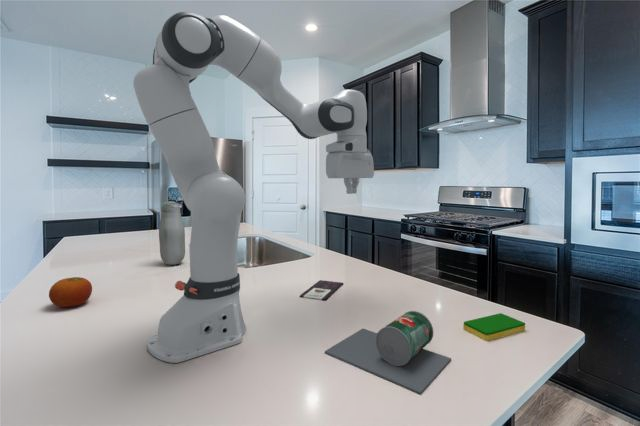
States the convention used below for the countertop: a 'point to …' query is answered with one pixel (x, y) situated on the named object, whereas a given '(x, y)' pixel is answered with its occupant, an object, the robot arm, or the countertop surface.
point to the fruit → (70, 292)
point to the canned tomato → (404, 338)
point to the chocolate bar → (321, 290)
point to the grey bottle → (171, 234)
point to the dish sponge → (494, 326)
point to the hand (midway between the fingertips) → (351, 193)
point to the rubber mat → (367, 357)
